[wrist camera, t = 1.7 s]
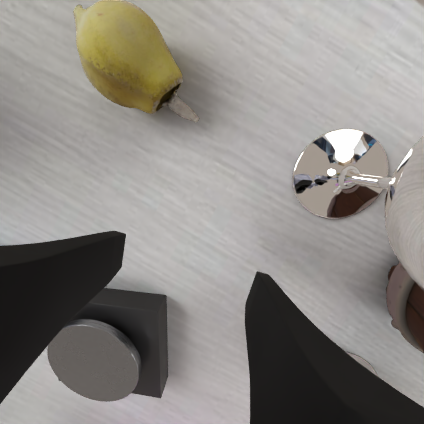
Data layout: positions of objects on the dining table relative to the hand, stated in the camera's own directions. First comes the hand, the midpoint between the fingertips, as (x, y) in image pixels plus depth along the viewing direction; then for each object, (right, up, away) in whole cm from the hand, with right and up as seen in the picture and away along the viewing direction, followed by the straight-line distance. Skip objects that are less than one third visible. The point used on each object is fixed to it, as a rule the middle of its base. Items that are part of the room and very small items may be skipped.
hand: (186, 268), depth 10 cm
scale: (-10, -12, +14) cm, 21 cm away
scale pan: (-11, -13, +11) cm, 20 cm away
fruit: (-3, +14, +7) cm, 16 cm away
